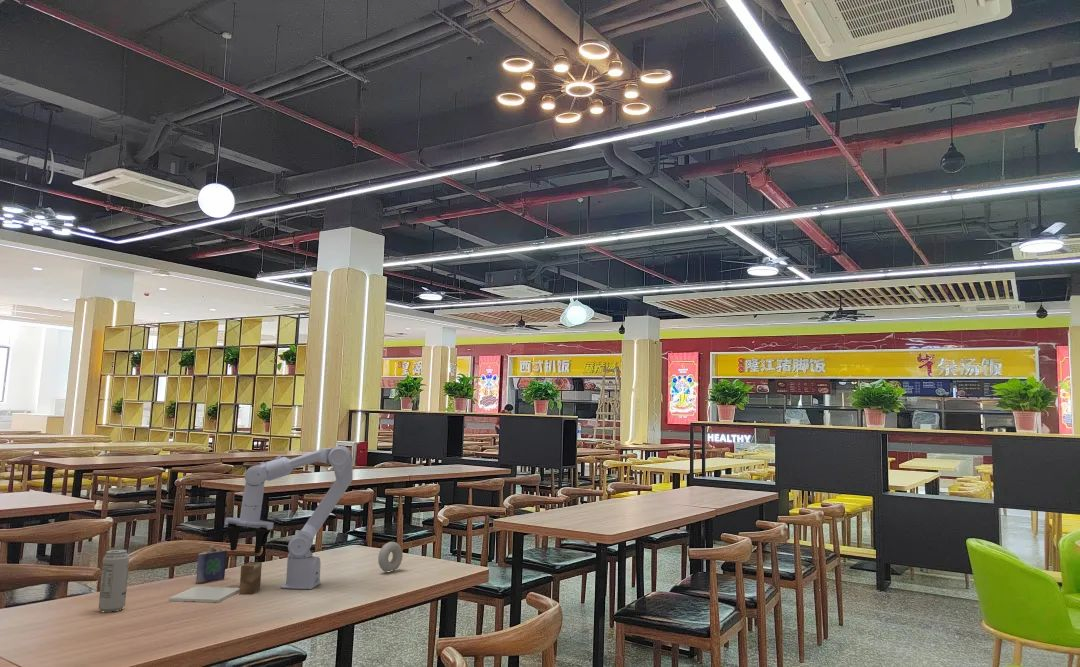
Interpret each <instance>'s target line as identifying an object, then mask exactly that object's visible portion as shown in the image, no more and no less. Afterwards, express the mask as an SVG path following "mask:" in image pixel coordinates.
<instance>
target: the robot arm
mask: <svg viewBox="0 0 1080 667" xmlns="http://www.w3.org/2000/svg"><path fill="white" fill-rule="evenodd" d="M353 460H354V458H353V455H352V452H351V450H350V449H349V447H347V446H345V445H337V446H335V447H333V446H331V447H327V448H326V447H324V448H319V449H317V450H314V451H310V452H308V453H304V454H303V455H299V456H297V457H292V458H291V459H290V458H288V457H286V456H276V457H275V459H272V460H269V461H266V462H265V461H262V462H261V461H260V462H259V463H260V464H257V465H253V466H251V467H249V468H248V469H246V471H245V473H244V479H245V482H244V483H245V484H244V489H243V493H242V500H241V508H240V515H239V517H225V520H224V521H225V522H224V525H227V526H226V527H225V532H226V533H227V536H228V540H229V545H230V546H229V547H230V551H232V552H233V551H236V550H237V547H238V542H239V536H240V533H241V529H242V527H245V528H246V527H247V528H256V529H255V544H254V554H259V553H261V550H262V547H263V545H264V543H265V541H266V539H267V538H268V536H269V534H270V533H271V532H272V531H271V530H273V529H274V522H272V521H267V520H266V521H265V520H262V519H261V514H262V505H263V500H264V493H265V491H264V488H265V482H266V481H268V482H269V481H273V480H276V479H280V478H282V477H287V476H289V475H290V474H291V473H292V471H293V470H294V469H297V468H301V467H304V466H307V465H310V464H314V463H323V464H328V463H329V465H331V467H332V469H333V471H334V476H335V480H334V482H333V483H332V485H331V486H330V488H329V489H328V491H327V492H326V494H325V495H324V497H322V499H321V501H320V503H319V504H318V505H317V506H316V508H315V509H314V511H313V513H312V514H311V516H310V517H309V518H308V520H307V521H306V523H305V524H304V526H303V527H302V528H301V529H300V531H298V532H297V533H296V534H294V535H293V536H292V538H291V539H290V540H289V542H288V545H287V549H288V552H289V553H288V554H287V561H286V575H285V576H286V578H285V579H286V580H285V584H282V586H280V589H293V590H294V589H295V590H297V589H300V590H312V589H313V588H316V587H317V586H319V585H320V584H321V581H320V580H321V558H320V557H319V556H313V552H312V551H311V550H310V549H311V548H312V546H313V544H314V539H315V536H316V535H317V533H318V532H319V530H320V529H321V527H322V526H323V525H324V523H325V521H326V520H327V519H328V517H329V516H330V514H331V513H332V511H333V510H334V509H335V507H336V506H337V504H338V502H339V501H340V500H341V498H343V495H344V494H345V492H346V490H348V488H349V487H350V485H351V483H352V482H353V478H354V477H353V472H354V470H353V466H354V465H353V464H354V463H353Z"/></svg>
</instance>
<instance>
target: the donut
mask: <svg viewBox="0 0 1080 667" xmlns="http://www.w3.org/2000/svg"><path fill="white" fill-rule="evenodd" d="M391 553H392V558H391V560H389V557H390V554H391ZM377 559H378V565H379V568H380V569H381V570H382V571H383V572H385V571H391V570H395V569H396V570H398V568H399V567H400V565H401V564H402V561H403V550H402V547H401V545H400V544H399V543H398V542H396V541H388V542H387V543H386V542H385V544H383V545H382V547H381V548H380V550H379V553H378V557H377ZM396 570H395V571H396Z"/></svg>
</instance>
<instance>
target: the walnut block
mask: <svg viewBox="0 0 1080 667" xmlns="http://www.w3.org/2000/svg"><path fill="white" fill-rule="evenodd" d="M262 563H263V562H262V561H260V562H259V561H249V562H247V563H244V564H242V565H241V566H240V578H239V588H240V590H239V592H238V594H239V595H245V596H246V595H248V596H249V595H250V596H252V595H253V594H255V593H257V592H259V591H260V590H261V582H262V580H261V579H262Z"/></svg>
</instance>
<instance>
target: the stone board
mask: <svg viewBox="0 0 1080 667" xmlns="http://www.w3.org/2000/svg"><path fill="white" fill-rule="evenodd" d="M239 590H240V587H222V586H219V587H218V586H194V587H191V588H188V589H186V590H184V591H182V592H180V593H177V594H174V595H172V596H170V597H168V602H184V601H190V602H191V601H195V602H194V603H214V602H216V604H217V603H220V602H222V601H224V600H227V599H228V598H230V597H232V596H234V595H236V594H239ZM191 603H192V602H191Z"/></svg>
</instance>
